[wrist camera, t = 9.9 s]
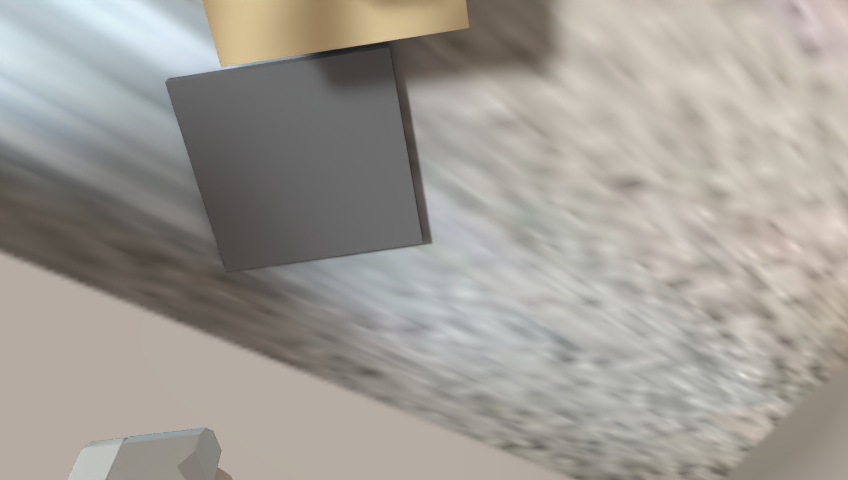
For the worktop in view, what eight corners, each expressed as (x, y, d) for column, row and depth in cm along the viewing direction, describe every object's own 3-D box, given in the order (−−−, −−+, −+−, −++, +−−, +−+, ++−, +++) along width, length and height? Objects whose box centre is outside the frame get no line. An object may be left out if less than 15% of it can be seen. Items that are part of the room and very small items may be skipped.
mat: (228, 266, 45) (226, 272, 44) (168, 78, 39) (165, 82, 39) (422, 238, 44) (422, 243, 44) (389, 43, 39) (389, 47, 38)
